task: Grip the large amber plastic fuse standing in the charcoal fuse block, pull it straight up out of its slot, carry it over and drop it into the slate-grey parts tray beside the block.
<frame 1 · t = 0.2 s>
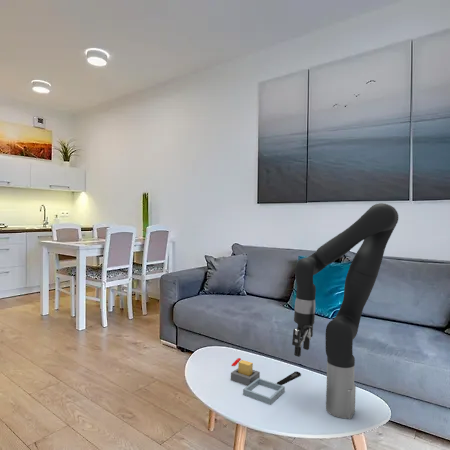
hand: (301, 352, 127), 17 cm above the table, tool pointing down, fingers open, 8 cm apart
fuse: (245, 379, 139), point 1 cm above the table, touching fuse block
fuse block: (245, 383, 139), on the table
swiss army knife: (236, 365, 156), on the table
parts tray: (264, 397, 128), on the table
electric trimmer: (289, 383, 140), on the table
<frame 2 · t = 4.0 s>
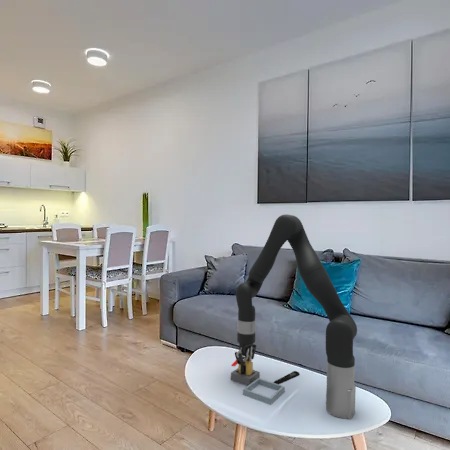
hand: (245, 372, 138), 5 cm above the table, tool pointing down, fingers closed on fuse, 2 cm apart
fuse: (245, 378, 138), point 2 cm above the table, touching gripper
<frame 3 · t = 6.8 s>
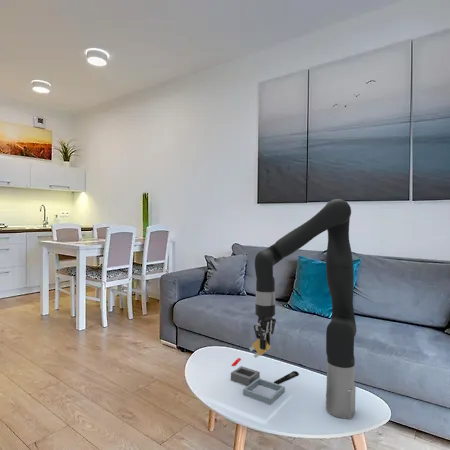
hand: (265, 347, 128), 19 cm above the table, tool pointing down, fingers closed on fuse, 2 cm apart
fuse: (253, 352, 131), point 16 cm above the table, tilted 46°, touching gripper
when the fingers open (6 cm above the table, at t = 9.7 s): fuse stays where it is and tips over, resting on parts tray.
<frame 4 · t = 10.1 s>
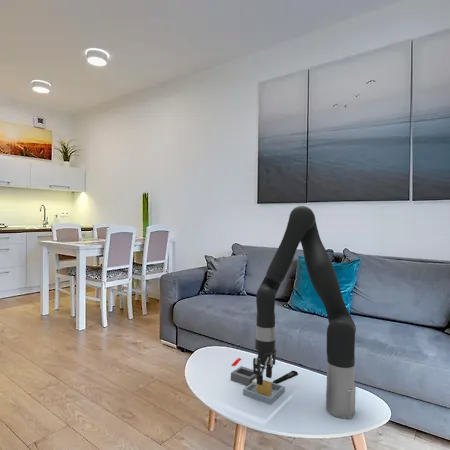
hand: (264, 380, 128), 6 cm above the table, tool pointing down, fingers open, 6 cm apart
fuse: (253, 385, 131), point 3 cm above the table, tilted 90°, touching parts tray
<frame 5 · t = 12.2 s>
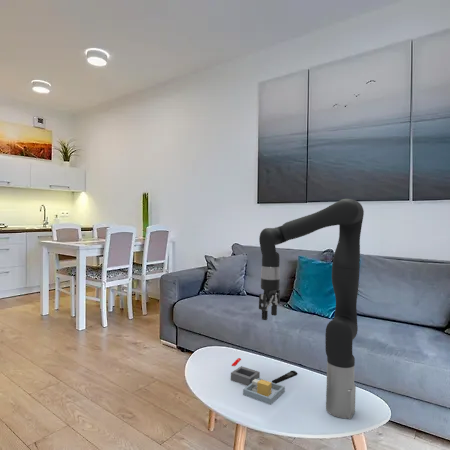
hand: (269, 317, 136), 28 cm above the table, tool pointing down, fingers open, 8 cm apart
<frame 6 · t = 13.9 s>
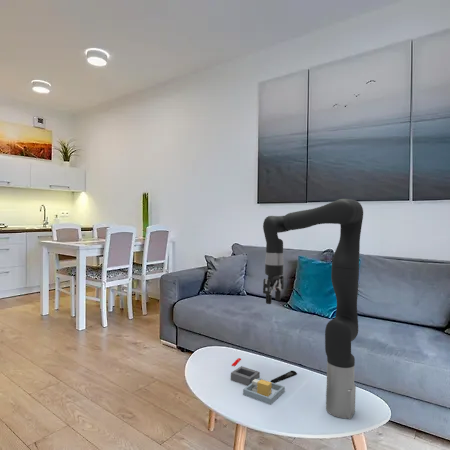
hand: (273, 301, 141), 33 cm above the table, tool pointing down, fingers open, 8 cm apart
at the end: fuse inside the target area on the parts tray (4.7 cm from its centre), point 3.1 cm above the parts tray's base; fuse touching parts tray; the gripper is holding nothing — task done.
